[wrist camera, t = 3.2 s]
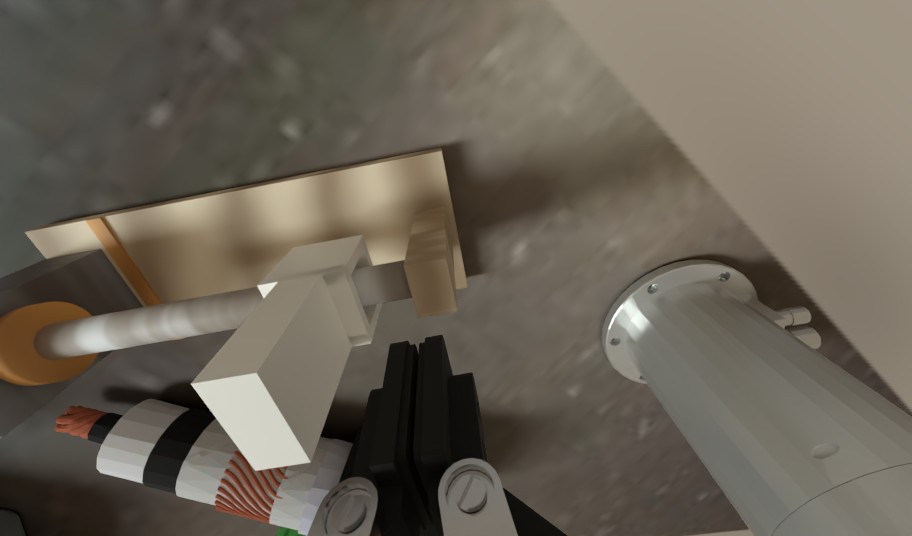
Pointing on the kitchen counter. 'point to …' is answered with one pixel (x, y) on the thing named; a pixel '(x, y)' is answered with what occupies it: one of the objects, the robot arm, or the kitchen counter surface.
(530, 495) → the kitchen counter surface
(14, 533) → the storage bin
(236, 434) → the sleeve
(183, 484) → the black white tapered cylinder
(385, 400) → the robot arm
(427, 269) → the rail
